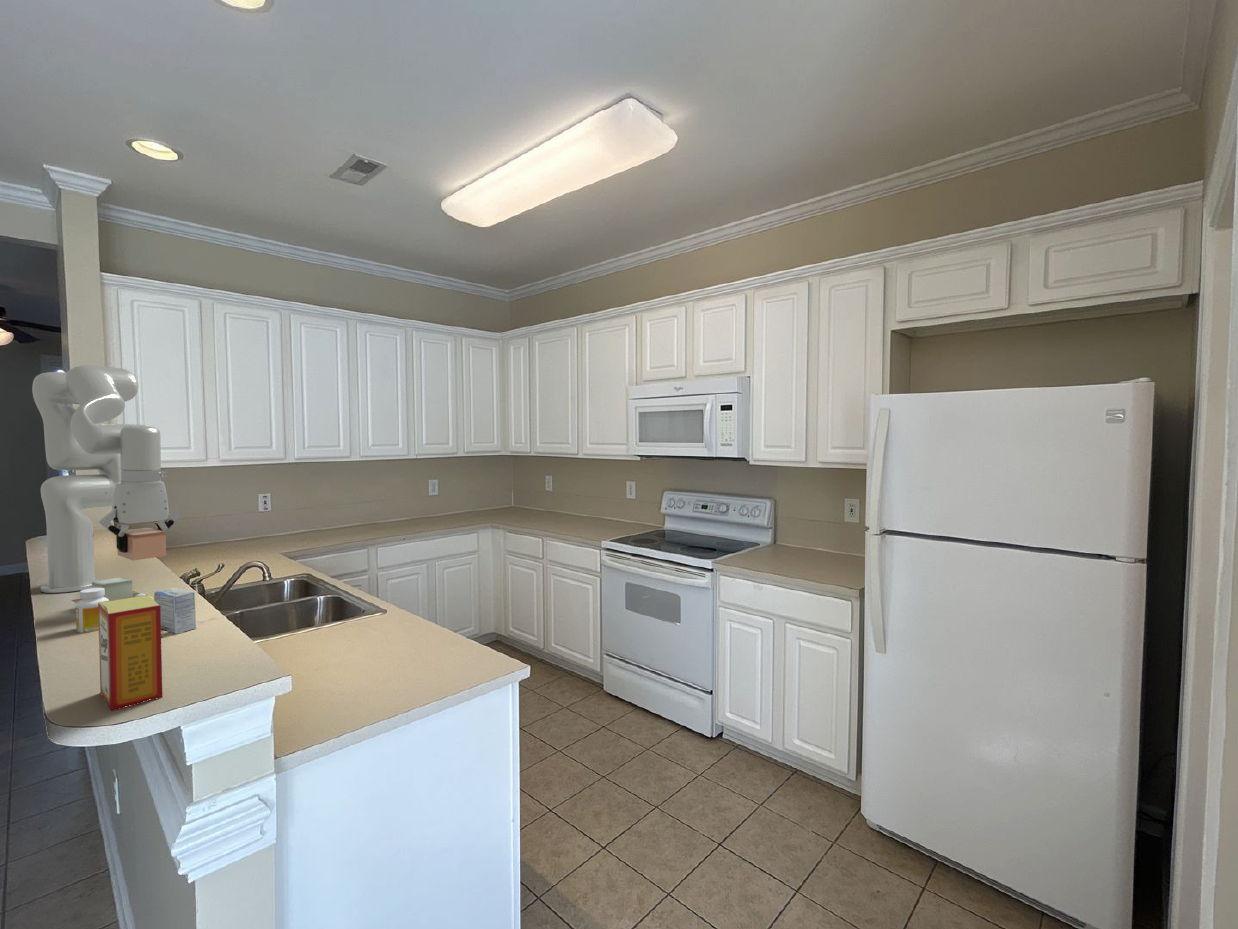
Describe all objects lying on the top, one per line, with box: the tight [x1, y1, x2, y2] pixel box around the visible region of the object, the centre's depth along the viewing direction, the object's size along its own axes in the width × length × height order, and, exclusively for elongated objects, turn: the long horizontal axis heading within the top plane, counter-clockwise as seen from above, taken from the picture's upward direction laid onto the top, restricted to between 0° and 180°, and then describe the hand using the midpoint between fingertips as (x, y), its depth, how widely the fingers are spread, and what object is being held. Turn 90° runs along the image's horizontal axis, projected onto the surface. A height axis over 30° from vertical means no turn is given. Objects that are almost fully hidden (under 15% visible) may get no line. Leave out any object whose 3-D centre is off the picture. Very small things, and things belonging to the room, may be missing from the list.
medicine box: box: [153, 587, 197, 635], centre depth 130 cm, size 8×4×9 cm, turn 65°
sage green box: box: [92, 576, 133, 601], centre depth 143 cm, size 6×6×6 cm
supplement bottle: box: [75, 588, 109, 633], centre depth 126 cm, size 5×5×10 cm
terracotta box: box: [117, 527, 167, 561], centre depth 142 cm, size 9×7×6 cm
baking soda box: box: [98, 594, 163, 712], centre depth 97 cm, size 10×6×16 cm
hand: (141, 548), depth 142 cm, fingers closed on terracotta box, 6 cm apart
